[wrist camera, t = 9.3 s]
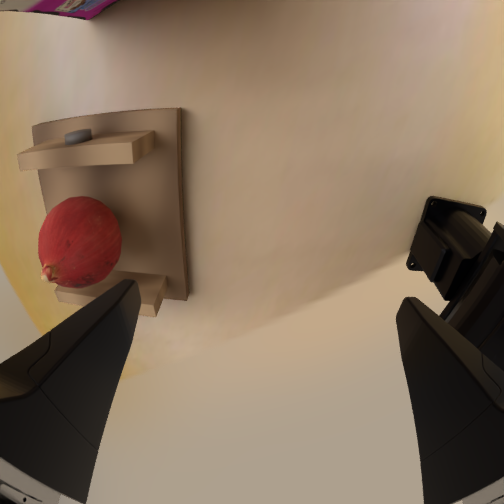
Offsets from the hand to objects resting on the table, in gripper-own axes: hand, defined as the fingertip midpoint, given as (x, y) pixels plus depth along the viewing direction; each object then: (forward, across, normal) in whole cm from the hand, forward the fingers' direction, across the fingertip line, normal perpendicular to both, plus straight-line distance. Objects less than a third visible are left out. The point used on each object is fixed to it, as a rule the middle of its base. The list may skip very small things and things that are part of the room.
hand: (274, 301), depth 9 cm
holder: (+12, +12, +3) cm, 17 cm away
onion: (+11, +12, +3) cm, 17 cm away
